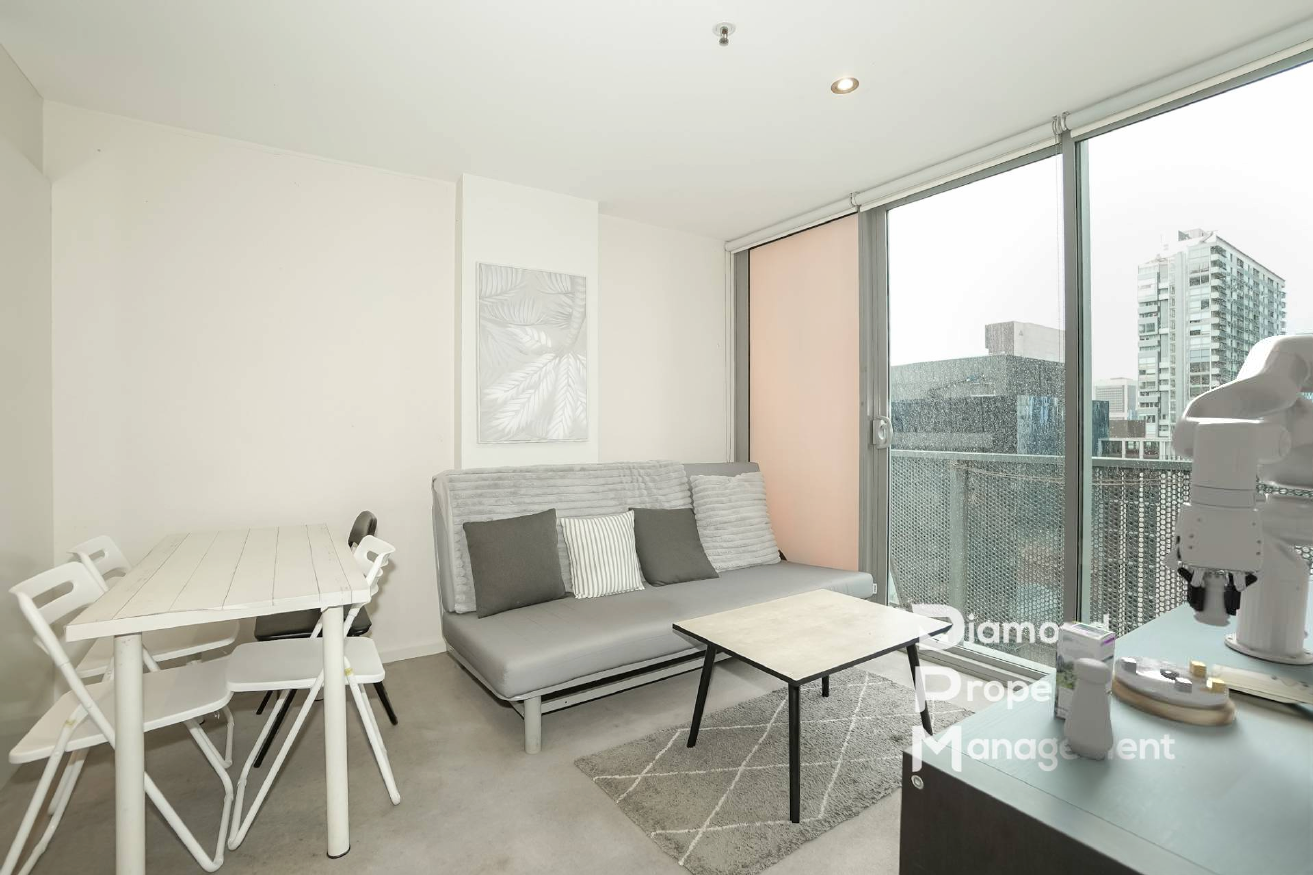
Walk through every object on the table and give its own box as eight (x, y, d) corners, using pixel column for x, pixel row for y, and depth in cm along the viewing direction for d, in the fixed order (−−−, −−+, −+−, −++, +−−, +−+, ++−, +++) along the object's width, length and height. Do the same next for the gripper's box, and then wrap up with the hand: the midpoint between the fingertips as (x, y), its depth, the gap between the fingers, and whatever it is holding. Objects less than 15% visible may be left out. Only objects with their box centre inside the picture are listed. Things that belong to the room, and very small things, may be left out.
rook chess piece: (1200, 615, 101) (1204, 568, 100) (1235, 625, 97) (1240, 575, 96) (1187, 619, 99) (1190, 571, 98) (1222, 629, 95) (1226, 579, 94)
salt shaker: (1121, 766, 82) (1127, 673, 81) (1074, 760, 83) (1080, 669, 82) (1099, 742, 88) (1105, 655, 87) (1055, 737, 89) (1060, 651, 88)
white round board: (1146, 662, 110) (1148, 643, 109) (1248, 700, 96) (1250, 678, 96) (1094, 675, 104) (1095, 655, 104) (1194, 716, 91) (1196, 693, 91)
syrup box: (1111, 723, 93) (1117, 631, 92) (1093, 733, 90) (1099, 638, 89) (1069, 706, 98) (1075, 619, 97) (1051, 716, 95) (1057, 626, 94)
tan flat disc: (1143, 671, 111) (1144, 660, 111) (1256, 715, 96) (1257, 702, 96) (1085, 686, 105) (1086, 674, 105) (1196, 734, 90) (1197, 721, 90)
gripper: (1276, 498, 96) (1266, 611, 98) (1148, 490, 103) (1140, 596, 104) (1304, 506, 90) (1293, 627, 91) (1165, 497, 96) (1156, 610, 97)
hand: (1212, 609), depth 97 cm, fingers closed on rook chess piece, 3 cm apart
